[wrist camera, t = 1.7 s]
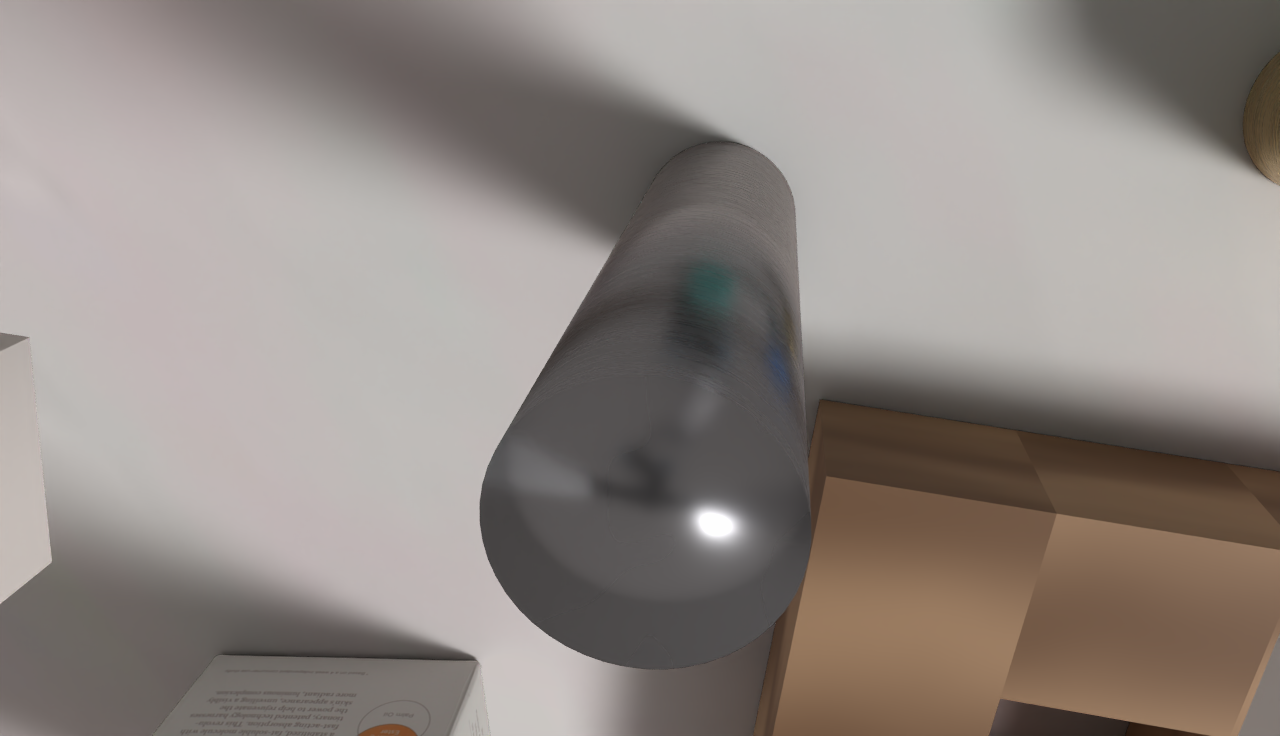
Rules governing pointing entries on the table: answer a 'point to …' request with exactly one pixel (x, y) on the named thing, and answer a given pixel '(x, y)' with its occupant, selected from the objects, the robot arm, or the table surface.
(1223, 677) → the hole block
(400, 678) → the small box
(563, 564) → the long pin
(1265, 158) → the short pin
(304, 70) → the table surface
